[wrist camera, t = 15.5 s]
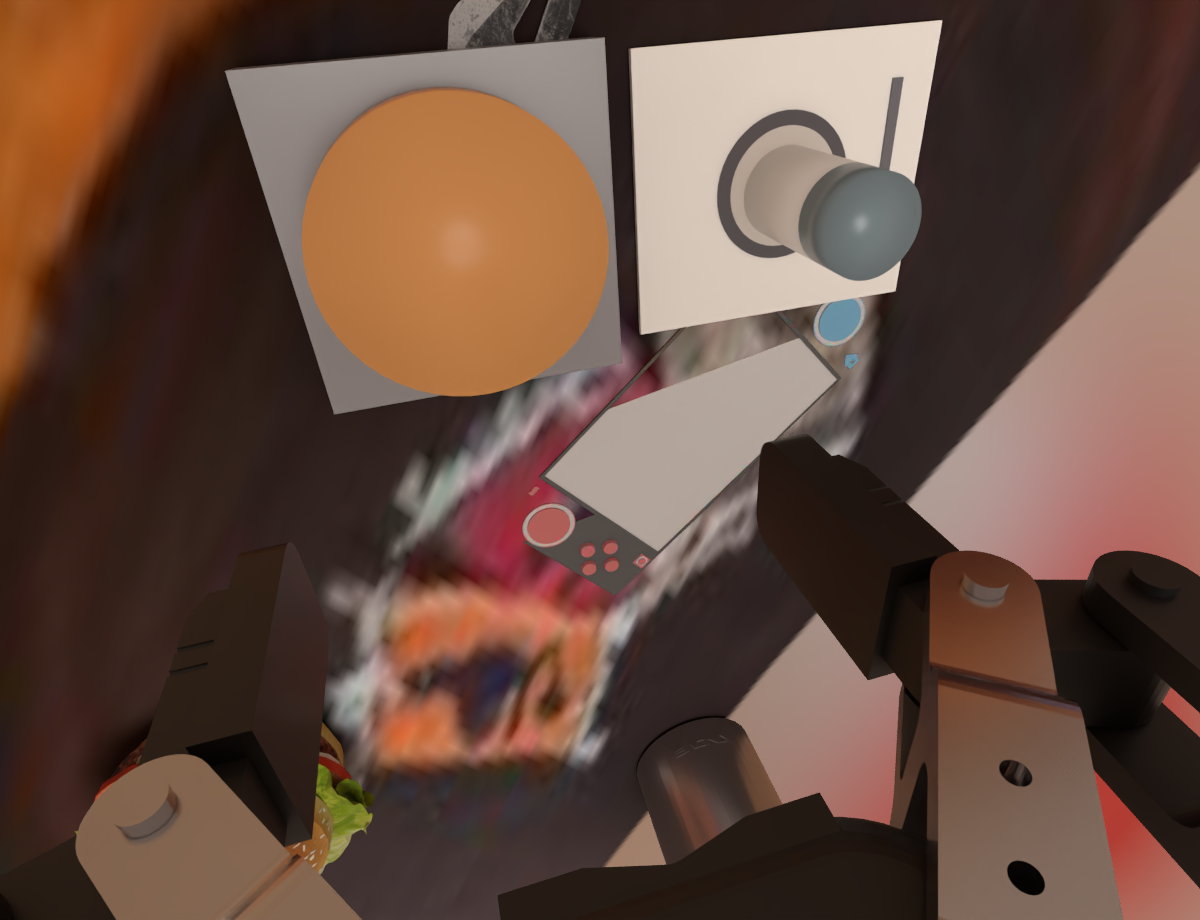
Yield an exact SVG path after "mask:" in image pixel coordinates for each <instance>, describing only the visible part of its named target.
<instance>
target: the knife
mask: <svg viewBox="0 0 1200 920" xmlns="http://www.w3.org/2000/svg"><path fill="white" fill-rule="evenodd" d="M529 2H530V0H461V1H459V2H458V4H457V5H456V7H455V8H454V10H453V11H452V13H451V14H450V18H449V32H448V49H458V48H470V47H482V46H493V45H505V44H516V43H515V41H514V37H513V32H514V29H515V27H516V25H517V23H518V22H519V20H520V18H521V16H522V14H523V13H524V11H525V9H526V7H527V5H528V4H529ZM580 3H581V0H547V3H546V6H545V9H544V12H543V15H542V18H541V21H540V24H539V28H538V31H537V34H536V37H535V40H534V42H540V41H551V40H563V39H568V37H569V35H570V32H571V29H572V26H573V23H574V20H575V17H576V14H577V11H578V9H579V6H580Z"/></svg>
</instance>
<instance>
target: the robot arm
mask: <svg viewBox="0 0 1200 920" xmlns="http://www.w3.org/2000/svg"><path fill="white" fill-rule="evenodd" d="M757 522H758V527H759V530H760V533H761V536H762V538H763V540H764V542H765V544H766V545H767V547H768V548H769V550H770V551H771V552H772V554H773V555H774V556H775V558H776V559H777V560H778V561H779V563H780V564H781V565H782V567H783V568H784V569H785V571H786V572H787V573H788V575H789V576H790V577H791V579H792V580H793V581H794V583H795V584H796V585H797V587H798V588H799V589H800V591H801V592H802V593H803V595H804V596H805V597H806V599H807V600H808V601H809V603H810V604H811V605H812V607H813V608H814V609H815V611H816V612H817V613H818V615H819V616H820V617H821V618H822V620H823V621H824V623H825V624H826V625H827V627H828V628H829V629H830V631H831V632H832V633H833V635H834V636H835V637H836V639H837V640H838V641H839V642H840V644H841V645H842V646H843V648H844V649H845V650H846V652H847V653H848V654H849V656H850V657H851V658H852V660H853V661H854V662H855V664H856V665H857V666H858V668H859V669H860V670H861V672H862V673H863V674H864V676H865V677H866V678H867V680H870V679H874V678H877V677H881V676H884V675H888V674H891V673H895V674H896V675H897V677H898V678H899V679H900V680H901V682H902V687H901V691H900V696H899V711H898V730H897V748H896V767H895V785H894V798H893V808H892V814H891V820H890V825H886V824H884V823H879V822H875V821H870V820H865V819H858V818H847V817H833V815H832V813H831V811H830V810H829V808H828V806H827V805H826V803H825V801H824V799H823V798H822V796H821V794H820V793H817V794H814V795H810V796H808V797H804V798H801V799H798V800H795V801H792V802H788V803H786V804H782V802H781V800H780V798H779V796H778V794H777V792H776V791H775V789H774V787H773V785H772V783H771V781H770V779H769V777H768V775H767V773H766V771H765V769H764V767H763V765H762V763H761V761H760V759H759V757H758V755H757V753H756V751H755V749H754V747H753V746H752V744H751V742H750V740H749V738H748V736H747V734H746V732H745V730H744V729H743V728H742V726H741V725H739V724H738V723H736V722H735V721H732V720H729V719H724V718H705V719H700V720H695V721H692V722H689V723H686V724H683V725H680V726H678V727H676V728H674V729H672V730H670V731H669V732H667V733H666V734H664V735H663V736H661V737H660V738H658V739H657V740H656V741H655V742H654V743H653V744H652V745H650V747H649V748H648V749H647V750H646V751H645V753H644V754H643V756H642V757H641V759H640V761H639V763H638V768H637V779H638V782H639V785H640V788H641V791H642V793H643V796H644V799H645V802H646V805H647V808H648V811H649V814H650V817H651V819H652V823H653V826H654V829H655V832H656V835H657V838H658V841H659V844H660V847H661V850H662V853H663V856H664V859H665V862H666V865H653V866H629V867H628V866H627V867H603V868H582V869H579V870H575V871H572V872H569V873H566V874H563V875H560V876H557V877H553V878H550V879H547V880H544V881H541V882H538V883H535V884H532V885H528V886H525V887H522V888H519V889H516V890H513V891H510V892H506V893H503V894H500V895H498V902H499V909H500V917H501V920H1123V915H1122V910H1121V905H1120V900H1119V895H1118V890H1117V885H1116V880H1115V875H1114V870H1113V865H1112V860H1111V855H1110V850H1109V845H1108V840H1107V835H1106V830H1105V825H1104V819H1103V814H1102V809H1101V804H1100V799H1099V794H1098V789H1097V784H1096V779H1095V775H1094V770H1095V772H1096V773H1097V774H1098V775H1099V776H1100V777H1101V778H1102V779H1103V781H1105V783H1106V784H1107V785H1108V786H1109V787H1110V788H1111V789H1112V791H1113V792H1114V793H1115V794H1116V795H1117V796H1118V797H1119V798H1120V800H1121V801H1122V802H1123V803H1124V804H1125V805H1126V806H1127V807H1128V809H1129V810H1130V811H1131V812H1132V813H1133V814H1134V815H1135V816H1136V818H1138V820H1139V821H1140V822H1141V823H1142V824H1143V825H1144V826H1145V828H1146V829H1147V830H1148V831H1149V832H1150V833H1151V834H1152V835H1153V837H1154V838H1155V839H1156V840H1157V841H1158V842H1159V843H1160V844H1161V846H1163V848H1164V849H1165V850H1166V851H1167V852H1168V853H1169V854H1170V855H1171V857H1172V858H1173V859H1174V860H1175V861H1176V862H1177V863H1178V865H1179V866H1180V867H1181V868H1182V869H1183V870H1184V871H1185V872H1186V874H1187V875H1188V876H1189V877H1190V878H1191V879H1192V880H1193V881H1194V882H1195V884H1196V885H1197V886H1198V887H1199V888H1200V737H1199V736H1198V735H1197V734H1196V733H1194V732H1193V731H1192V730H1191V729H1190V728H1189V727H1188V726H1187V725H1186V724H1185V723H1184V722H1183V721H1181V720H1180V719H1179V718H1178V717H1177V716H1176V715H1175V714H1174V713H1173V712H1172V711H1171V710H1169V709H1168V708H1167V707H1166V706H1165V705H1164V704H1163V703H1162V701H1163V700H1164V698H1165V696H1166V694H1167V692H1168V691H1169V689H1170V687H1171V688H1173V689H1174V690H1175V691H1176V692H1177V693H1178V694H1179V695H1180V696H1182V697H1183V698H1184V699H1185V700H1186V701H1187V702H1188V703H1189V704H1191V705H1192V706H1193V707H1194V708H1195V709H1196V710H1197V711H1198V712H1199V713H1200V577H1199V576H1198V575H1197V574H1195V573H1194V572H1192V571H1191V570H1189V569H1188V568H1186V567H1184V566H1182V565H1180V564H1178V563H1176V562H1173V561H1171V560H1169V559H1166V558H1163V557H1160V556H1157V555H1153V554H1149V553H1144V552H1138V551H1114V552H1110V553H1107V554H1104V555H1102V556H1100V557H1099V558H1098V559H1097V560H1096V561H1095V563H1094V565H1093V567H1092V569H1091V572H1090V574H1089V577H1088V579H1087V580H1033V578H1032V577H1031V576H1030V575H1029V574H1028V573H1027V572H1025V571H1024V570H1023V569H1022V568H1020V567H1019V566H1017V565H1015V564H1014V563H1012V562H1010V561H1008V560H1006V559H1003V558H1001V557H998V556H995V555H992V554H988V553H984V552H977V551H959V550H958V549H957V548H956V547H955V546H954V545H952V544H951V543H950V542H949V541H948V540H947V539H946V538H944V537H943V536H942V535H941V534H940V533H939V532H938V531H937V530H936V529H935V528H933V527H932V526H931V525H930V524H929V523H928V522H927V521H926V520H924V519H923V518H922V517H921V516H920V515H919V514H918V513H917V512H915V511H914V510H913V509H912V508H911V507H910V506H909V505H908V504H907V503H905V502H903V503H902V502H901V498H900V497H899V496H898V495H897V494H895V493H894V492H893V491H892V490H891V489H890V488H886V487H885V484H884V483H883V482H882V481H881V480H880V479H879V478H877V477H876V476H875V475H874V474H873V473H872V472H871V471H870V470H869V469H867V468H866V467H864V466H862V465H860V464H858V463H856V462H854V461H851V460H849V459H847V458H845V457H843V456H841V455H836V456H831V455H830V454H829V453H828V452H827V451H826V450H824V449H823V448H822V447H821V446H820V445H819V444H818V443H817V442H816V441H815V440H814V439H813V438H812V437H810V436H809V435H807V434H802V435H798V436H793V437H788V438H784V439H779V440H774V441H770V442H766V443H764V444H763V446H762V448H761V452H760V465H759V481H758V497H757ZM177 650H178V653H177V654H175V655H174V658H173V661H172V664H171V667H170V670H169V672H170V677H167V680H166V683H165V686H164V689H163V692H162V695H161V698H160V701H159V704H158V707H157V710H156V713H155V716H154V719H153V722H152V725H151V728H150V731H149V734H148V737H147V740H146V743H145V746H144V749H143V752H142V755H141V758H140V761H139V764H138V767H137V768H135V769H133V770H131V771H130V772H128V773H127V774H125V775H124V776H122V777H121V778H119V779H118V780H117V781H116V782H114V783H113V784H112V785H111V786H110V787H109V788H108V789H107V790H106V791H104V792H103V793H102V794H101V795H100V797H99V798H98V799H97V800H96V801H95V802H94V804H93V805H92V806H91V808H90V809H89V811H88V812H87V814H86V815H85V817H84V819H83V821H82V823H81V825H80V828H79V830H78V833H77V835H76V836H74V837H72V838H71V839H69V840H67V841H66V842H64V843H62V844H60V845H59V846H57V847H55V848H53V849H51V850H49V851H47V852H45V853H43V854H41V855H39V856H38V857H36V858H34V859H32V860H30V861H28V862H26V863H24V864H22V865H20V866H19V867H17V868H15V869H13V870H11V871H9V872H7V873H5V874H3V875H1V876H0V920H361V918H360V917H359V916H358V915H357V914H356V913H355V912H354V911H353V910H352V909H351V908H350V907H349V906H348V904H347V903H346V902H345V901H344V900H343V899H342V898H341V897H340V896H339V895H338V894H337V893H336V892H335V891H334V889H333V888H332V887H331V886H330V885H329V884H328V883H327V882H326V881H325V880H324V879H323V878H322V877H321V876H320V874H319V873H318V872H317V871H316V870H315V869H314V868H313V867H312V866H311V865H310V864H309V863H308V862H307V861H306V860H305V859H304V858H302V857H301V856H300V855H298V854H296V855H295V856H294V857H293V856H292V855H291V854H290V853H289V852H288V851H287V850H286V849H285V847H286V846H290V845H293V844H297V843H300V842H304V841H307V840H311V839H312V835H313V824H314V812H315V800H316V788H317V777H318V765H319V753H320V741H321V730H322V718H323V706H324V695H325V683H326V671H327V659H328V635H327V628H326V623H325V619H324V616H323V613H322V610H321V607H320V605H319V602H318V600H317V597H316V595H315V593H314V590H313V588H312V585H311V583H310V580H309V578H308V575H307V573H306V570H305V568H304V565H303V563H302V560H301V558H300V555H299V553H298V551H297V549H296V547H295V546H294V545H293V544H292V543H286V544H281V545H276V546H272V547H267V548H262V549H258V550H253V551H248V552H244V553H240V554H239V555H238V557H237V560H236V563H235V567H234V571H233V574H232V578H231V582H230V585H229V589H225V590H220V591H216V592H211V593H208V595H207V596H206V597H205V598H204V599H203V601H202V602H201V603H200V604H199V605H198V607H197V608H196V609H195V610H194V611H193V613H192V614H191V615H190V616H189V618H188V619H187V620H186V622H185V625H184V628H183V631H182V634H181V637H180V640H179V643H178V646H177Z"/></svg>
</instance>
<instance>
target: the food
mask: <svg viewBox="0 0 1200 920" xmlns="http://www.w3.org/2000/svg"><path fill="white" fill-rule="evenodd" d="M146 740H147V739H146ZM146 740H145V741H143V742H142V743H141V744H140V745H139V746H138V747H137V748H136V749H135V750H134V751H133V752H131V753H130V754H129V755H128V756H127V757H126V758H125V759H124V760H123V761H122V762H121V764H120V765H119V766H118V768H117V769H116V770H115V772H114V773H113V774H112V776H111V778H110V779H109V780H107V781H106V782H104V783H103V784H102V786H101V788H100V789H99V791H98V793H97V794H96V797H95V801H96V800H97V799H98V798H99V797H100V795H101V794H102V793H103V792H104V791H106V790H107V789H108V788H109V787H110V786H111V785H112V784H113V783H114V782H116V781H117V780H118V779H119V778H121V777H122V776H124V775H125V774H127V773H128V772H130V771H131V770H133V769H135V768H137V767H138V764H139V761H140V758H141V755H142V752H143V749H144V746H145V743H146ZM373 802H374V796H373V795H372V794H371V793H369V792H366V791H362V787H361V786H360V785H359V783H358V782H357V781H355V780H351V776H350V774H349V773H348V772H347V771H346V770H345V769H344V754H343V750H342V747H341V744H340V743H339V741H338V740H337V739H336V738H335V737H334V735H333V734H332V733H331V732H330V730H329V729H328V728H327V727H326V726H325V724H324V723H323V722H322V730H321V741H320V753H319V765H318V777H317V788H316V800H315V812H314V824H313V835H312V839H311V840H307V841H304V842H300V843H297V844H293V845H290V846H286V847H285V849H286V850H287V851H288V852H289V853H290V854H291V855H292V856H293V857H294V856H295V855H296V854H298V855H300V856H301V857H302V858H304V859H305V860H306V861H307V862H308V863H309V864H310V865H311V866H312V867H313V868H314V869H315V870H316V871H317V872H318V873H319V874H321V873H322V872H323V869H324V867H325V865H326V864H327V863H330V862H333V861H334V860H336V859H337V858H338V857H340V855H341V854H342V853H343V851H344V850H345V848H346V847H347V845H348V844H349V842H350V839H351V835H352V834H353V833H355V832H357V831H358V830H364V831H365V832H366V827H367V826H368V825H369V824H370V822H371V819H372V813H367V811H366V810H365V808H364V807H370V806H372V804H373ZM75 832H76V834H77V833H78V831H75ZM366 834H367V832H366Z"/></svg>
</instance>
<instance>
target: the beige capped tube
mask: <svg viewBox="0 0 1200 920" xmlns="http://www.w3.org/2000/svg"><path fill="white" fill-rule="evenodd" d="M744 208H745V212H746V216H747V218H748V220H749V222H750V223H751V225H752V226H753V227H754V228H755V229H756V230H757V231H758V232H760V233H762V234H764V235H765V236H767V237H769V238H771V239H773V240H775V241H777V242H778V243H780V244H782V245H784V246H786V247H788V248H790V249H792V250H793V251H795V252H797V253H799V254H801V255H803V256H805V257H806V258H808V259H810V260H812V261H814V262H816V263H818V264H819V265H821V266H823V267H825V268H827V269H829V270H831V271H833V272H834V273H836V274H838V275H840V276H842V277H844V278H846V279H849V280H853V281H866V280H870V279H873V278H876V277H879V276H881V275H883V274H884V273H886V272H887V271H889V270H890V269H892V268H893V267H894V266H895V265H896V264H897V263H898V262H899V261H900V260H901V259H902V258H903V257H904V256H905V254H906V253H907V252H908V250H909V249H910V247H911V245H912V244H913V242H914V239H915V237H916V235H917V232H918V229H919V225H920V221H921V200H920V196H919V193H918V190H917V188H916V187H915V185H914V184H913V183H912V181H911V180H910V179H908V178H907V177H906V176H904V175H902V174H900V173H897V172H894V171H890V170H887V169H883V168H879V167H876V166H872V165H869V164H865V163H861V162H858V161H854V160H850V159H847V158H843V157H840V156H836V155H832V154H829V153H825V152H821V151H818V150H814V149H811V148H807V147H803V146H800V145H784V146H781V147H778V148H776V149H774V150H772V151H770V152H769V153H767V154H766V155H765V156H764V157H762V159H761V160H760V161H759V162H758V163H757V164H756V166H755V167H754V168H753V170H752V172H751V173H750V176H749V178H748V180H747V183H746V187H745V191H744Z"/></svg>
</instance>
